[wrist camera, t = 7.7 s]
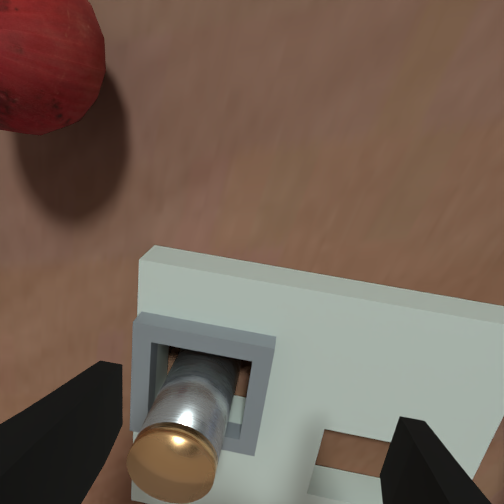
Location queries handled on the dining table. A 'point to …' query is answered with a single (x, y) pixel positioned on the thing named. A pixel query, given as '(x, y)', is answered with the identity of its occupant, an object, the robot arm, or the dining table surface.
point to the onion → (48, 63)
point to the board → (316, 369)
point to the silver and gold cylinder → (185, 428)
